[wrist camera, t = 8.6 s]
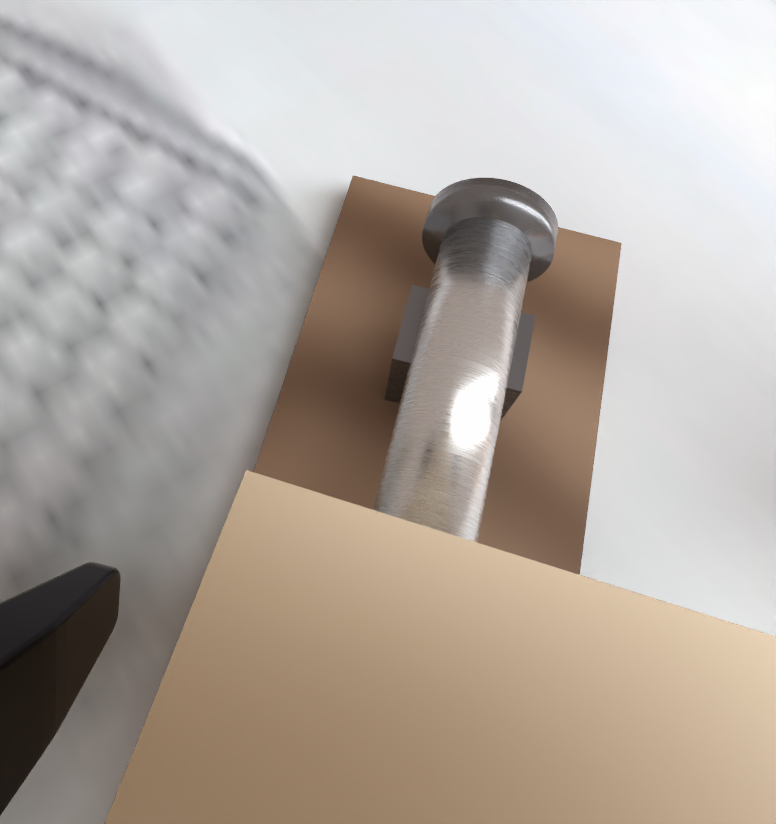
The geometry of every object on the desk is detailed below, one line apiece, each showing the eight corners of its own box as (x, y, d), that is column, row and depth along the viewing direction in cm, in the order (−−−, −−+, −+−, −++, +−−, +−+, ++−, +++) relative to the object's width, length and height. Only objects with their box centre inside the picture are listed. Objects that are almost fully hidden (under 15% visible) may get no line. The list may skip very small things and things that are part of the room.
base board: (402, 1792, 11) (411, 1955, 10) (-127, 1640, 11) (-191, 1778, 10) (607, 262, 24) (624, 237, 22) (352, 197, 24) (353, 169, 22)
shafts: (284, 1559, 11) (245, 2242, 6) (83, 1502, 11) (-105, 2138, 7) (523, 295, 21) (578, 192, 16) (416, 268, 21) (439, 157, 16)
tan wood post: (423, 860, 15) (999, 2276, 2) (251, 803, 15) (-274, 1770, 2) (475, 641, 17) (943, 622, 4) (320, 591, 17) (269, 412, 4)
